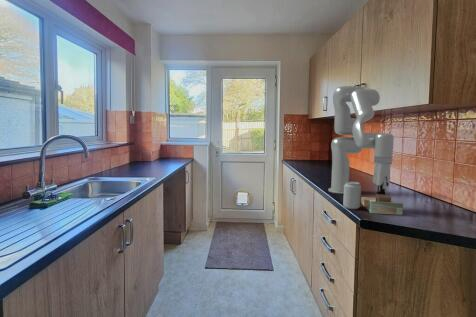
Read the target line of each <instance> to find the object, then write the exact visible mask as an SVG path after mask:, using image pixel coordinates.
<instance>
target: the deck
mask: <svg viewBox="0 0 476 317" xmlns="http://www.w3.org/2000/svg"><path fill="white" fill-rule="evenodd" d="M360 204H361V205H362V206H363V207H364V208H365V209H366V210H367V211H368V212H369V214H377V215H380V214H381V215H394V216H395V215H398V216H402V215H403V213H404V212H403V211H404V203H403V202H394V200H392V199H391V202H376V197H365V196H361V201H360Z"/></svg>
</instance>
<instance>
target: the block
mask: <svg viewBox="0 0 476 317" xmlns="http://www.w3.org/2000/svg"><path fill="white" fill-rule="evenodd" d="M375 198H376V202H391V200H392V197H391V196H390V194H385V195H381V194H377V193H376V194H375Z"/></svg>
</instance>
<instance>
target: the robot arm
mask: <svg viewBox="0 0 476 317" xmlns="http://www.w3.org/2000/svg"><path fill="white" fill-rule="evenodd" d="M380 98H381V97H380V94H379V92H378V91H377V90H376V89H374V88H370V87H366V86H352V85H342V86H338V87H336V88H335V90H334V92H333V94H332V103H333V108H334V109H333V110H334V123H333V124H334V125H333V126H334V133H335V134H337V135H341V136H342V137H341V136H340V137H339V136H338V137H335V138H333V139H332V140H331V143H330V148H331V157H332V159H331V160H332V162H331V163H332V164H331V185H330V187H328V192H330V193H333V194H342V195H344V185H345V184H346V182H350V181H349V180H350V159H349V157H348V156H347V155H351V154H352V155H353V154H355V155H356V154H360V153H361V152H362V150H363V149H373V150H374V156H373V157H374V158H373V160H374V161H373V164H374V168H373V175H372V183H373V184H375V185H376V190H377V191H376V194H381V195H386V191H387V187H389V186H390V183H391V165H393V154H394V153H393V152H394V141H395V140H394V139H395V138H394V135H393V134H391V133H381V132H364V124H363V123H366V122H367V121H370V120H371V119H373V117H374V116H375V110H374V108H373V107H375V106H377V105H378V104H379V102H380ZM348 103H351V105H352V109H353V111H354V113H355V117H356V118H354V117H353V118H352V117H351V109H350V106H349V105H348ZM343 135H344V136H343ZM349 135H350V137H346V136H349Z"/></svg>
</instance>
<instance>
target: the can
mask: <svg viewBox="0 0 476 317" xmlns="http://www.w3.org/2000/svg"><path fill="white" fill-rule="evenodd" d="M361 194H362V186H361V182H357V181H349V182H346V184H345V185H344V194H343V196H342V198H343V200H342V201H343V202H342V203H343V204H342V206H343V207H344V208H345V209H349V210H358V209H359V208H360V207H361V199H362V195H361Z"/></svg>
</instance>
